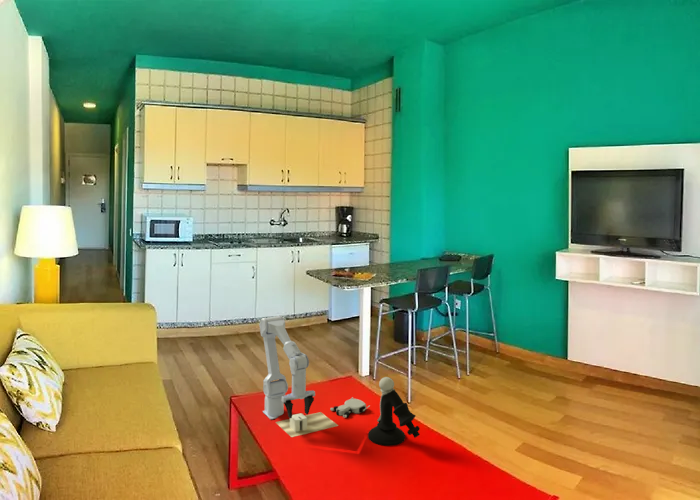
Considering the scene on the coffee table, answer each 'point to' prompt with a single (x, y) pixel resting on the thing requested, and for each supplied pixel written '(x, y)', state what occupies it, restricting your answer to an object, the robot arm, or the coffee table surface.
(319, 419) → the board
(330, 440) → the coffee table surface
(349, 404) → the robot toy
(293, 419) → the slotted white block
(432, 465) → the coffee table surface
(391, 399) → the sculpture
